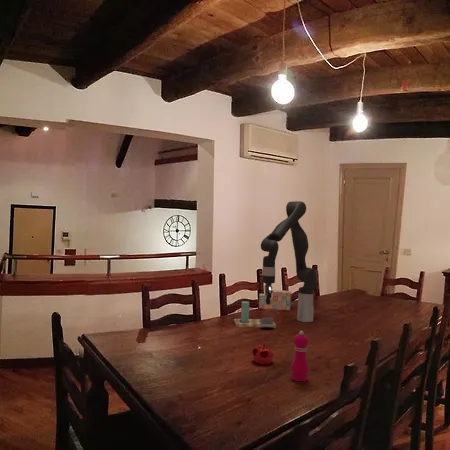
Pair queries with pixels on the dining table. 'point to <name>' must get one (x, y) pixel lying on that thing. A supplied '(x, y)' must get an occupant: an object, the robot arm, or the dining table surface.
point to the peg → (245, 312)
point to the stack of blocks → (276, 300)
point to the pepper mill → (300, 358)
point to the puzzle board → (250, 323)
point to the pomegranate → (262, 354)
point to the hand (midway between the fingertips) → (267, 304)
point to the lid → (267, 322)
